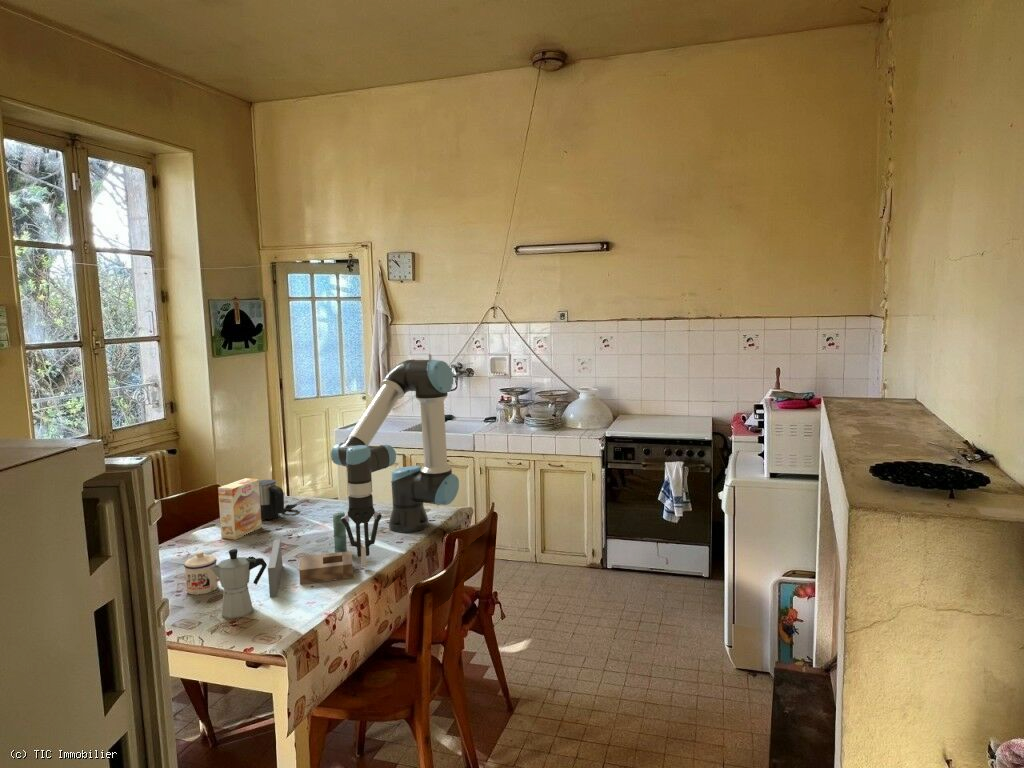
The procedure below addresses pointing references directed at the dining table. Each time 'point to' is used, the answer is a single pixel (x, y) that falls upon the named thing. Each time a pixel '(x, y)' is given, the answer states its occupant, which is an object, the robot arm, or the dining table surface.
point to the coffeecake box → (239, 508)
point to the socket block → (325, 567)
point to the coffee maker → (237, 583)
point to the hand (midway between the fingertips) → (363, 565)
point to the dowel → (339, 533)
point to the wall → (275, 568)
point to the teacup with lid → (200, 574)
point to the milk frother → (272, 500)
